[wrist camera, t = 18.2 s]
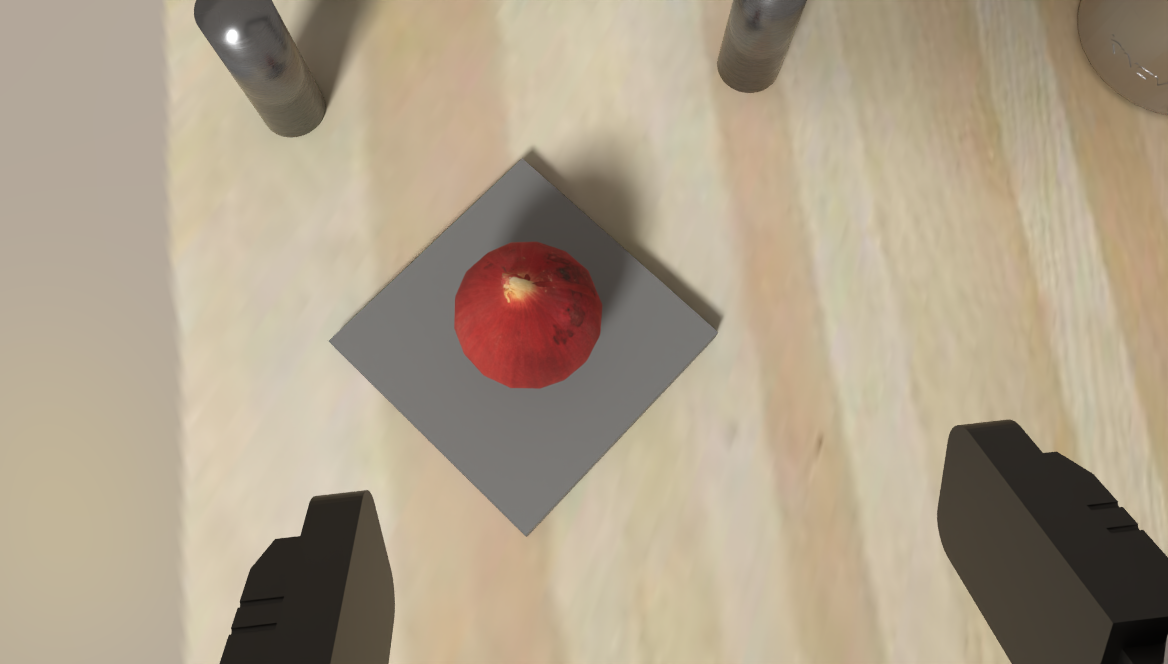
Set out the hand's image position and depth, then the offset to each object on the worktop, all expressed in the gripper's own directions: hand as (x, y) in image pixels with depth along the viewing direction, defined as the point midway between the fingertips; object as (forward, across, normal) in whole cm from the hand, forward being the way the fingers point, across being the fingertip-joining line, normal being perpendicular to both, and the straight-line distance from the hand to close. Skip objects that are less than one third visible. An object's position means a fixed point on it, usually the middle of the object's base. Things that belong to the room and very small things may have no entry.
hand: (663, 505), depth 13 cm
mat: (+26, +3, +12) cm, 28 cm away
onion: (+25, +2, +12) cm, 28 cm away
